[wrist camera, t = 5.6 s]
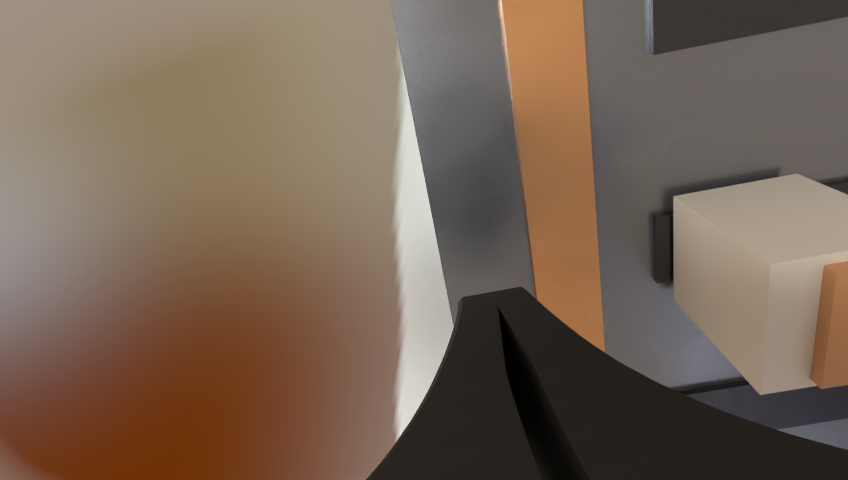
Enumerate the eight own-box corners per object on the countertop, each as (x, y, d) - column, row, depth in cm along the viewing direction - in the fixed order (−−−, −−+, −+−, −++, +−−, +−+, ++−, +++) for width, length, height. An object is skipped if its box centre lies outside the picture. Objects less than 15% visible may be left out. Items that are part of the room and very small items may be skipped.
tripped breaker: (787, 280, 13) (926, 380, 10) (673, 300, 13) (769, 405, 10) (797, 173, 12) (959, 241, 9) (673, 196, 12) (782, 271, 9)
